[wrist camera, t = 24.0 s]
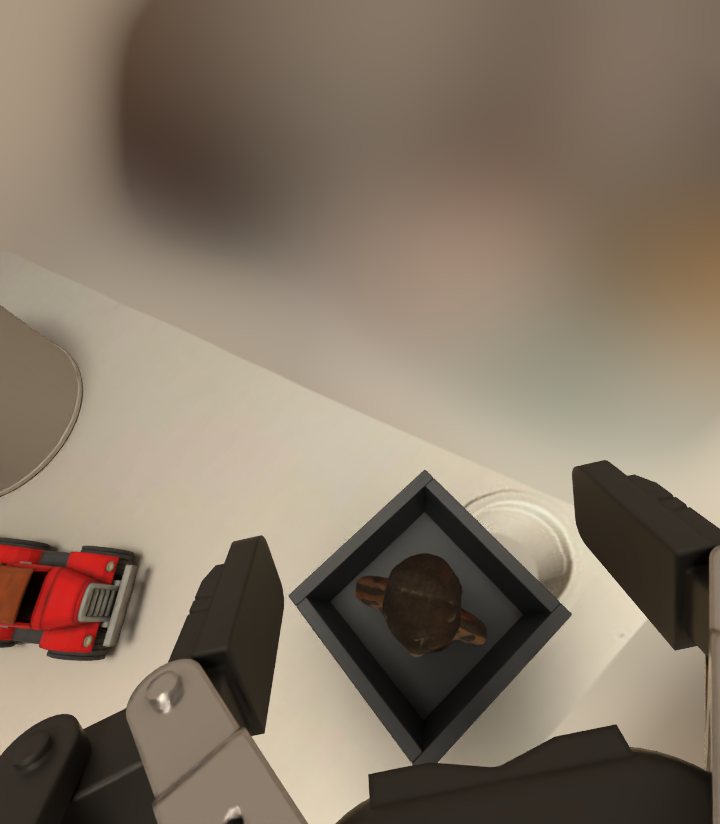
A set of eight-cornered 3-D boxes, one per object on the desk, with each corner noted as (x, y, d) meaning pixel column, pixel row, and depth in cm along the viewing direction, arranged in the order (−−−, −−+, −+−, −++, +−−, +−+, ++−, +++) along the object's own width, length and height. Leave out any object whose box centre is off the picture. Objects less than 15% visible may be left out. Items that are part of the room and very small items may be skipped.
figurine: (363, 627, 34) (305, 631, 18) (384, 560, 36) (349, 508, 19) (462, 666, 32) (498, 712, 16) (479, 594, 34) (528, 568, 17)
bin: (536, 615, 34) (572, 614, 25) (423, 737, 31) (422, 778, 23) (424, 501, 38) (424, 469, 30) (318, 600, 36) (287, 595, 28)
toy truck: (128, 659, 36) (52, 670, 28) (-65, 634, 39) (-180, 637, 31) (156, 555, 39) (93, 540, 32) (-24, 538, 42) (-121, 521, 34)
